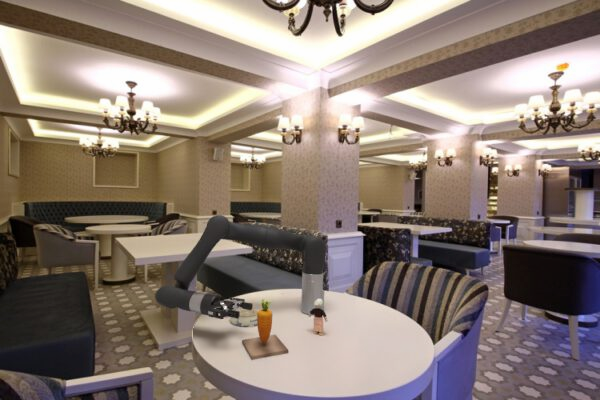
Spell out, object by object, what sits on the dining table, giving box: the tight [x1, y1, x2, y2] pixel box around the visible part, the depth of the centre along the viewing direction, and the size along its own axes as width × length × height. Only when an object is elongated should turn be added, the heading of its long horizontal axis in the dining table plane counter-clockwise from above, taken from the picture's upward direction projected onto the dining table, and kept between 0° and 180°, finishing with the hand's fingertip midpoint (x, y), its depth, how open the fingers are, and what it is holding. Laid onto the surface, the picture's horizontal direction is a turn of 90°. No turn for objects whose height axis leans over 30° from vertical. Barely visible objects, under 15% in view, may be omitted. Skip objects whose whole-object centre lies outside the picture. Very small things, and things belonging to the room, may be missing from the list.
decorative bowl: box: [228, 308, 259, 328], centre depth 126 cm, size 15×4×15 cm
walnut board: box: [241, 334, 289, 361], centre depth 102 cm, size 12×12×1 cm
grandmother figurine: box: [308, 299, 329, 336], centre depth 115 cm, size 8×4×13 cm, turn 71°
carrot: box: [256, 298, 273, 345], centre depth 102 cm, size 5×5×15 cm
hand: (245, 310), depth 105 cm, fingers open, 8 cm apart
